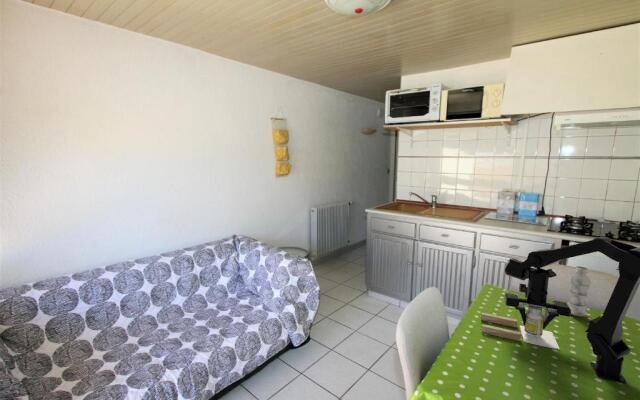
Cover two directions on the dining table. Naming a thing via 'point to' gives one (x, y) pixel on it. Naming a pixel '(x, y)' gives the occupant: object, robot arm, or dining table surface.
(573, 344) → the dining table surface
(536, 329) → the supplement bottle
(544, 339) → the white square plate
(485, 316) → the wooden lane
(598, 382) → the dining table surface
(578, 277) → the plastic bottle
